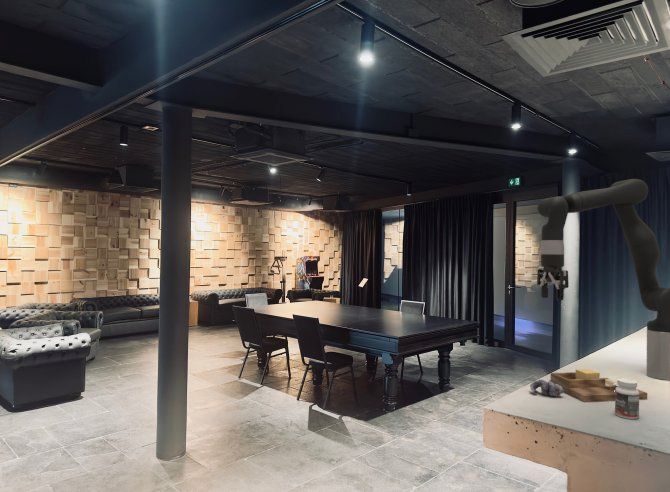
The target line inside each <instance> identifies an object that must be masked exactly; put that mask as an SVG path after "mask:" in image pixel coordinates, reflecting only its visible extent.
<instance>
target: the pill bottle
mask: <svg viewBox="0 0 670 492" xmlns="http://www.w3.org/2000/svg"><path fill="white" fill-rule="evenodd" d="M617 384H618V385H619V386H618V387H616V389H615V401H614V412H615V413H614V414H615V415H616V416H618V417H621V418H622V419H626V420H627V419H628V420H637V419H639V417H640V400H639V391H638V390H639V389H638V388H637V387H638V382H637V381H636V380H633V379H629V378H623V377H622V378H618V379H617ZM637 389H638V390H637Z"/></svg>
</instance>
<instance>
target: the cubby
mask: <svg viewBox="0 0 670 492" xmlns="http://www.w3.org/2000/svg"><path fill="white" fill-rule="evenodd" d="M604 378H605V377H600V378H598V379H576V371H574V372H570V371H569V372H568V371H567V372H550V380H551V381H553V382H555V383H557V384H560V385H562V386H564V387H566V388H589V387H605V379H604Z"/></svg>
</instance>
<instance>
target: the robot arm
mask: <svg viewBox="0 0 670 492" xmlns="http://www.w3.org/2000/svg"><path fill="white" fill-rule="evenodd" d="M648 195H649V186H648V185H647V183H646V182H645V181H644V180H642V179H640V178H629V179H625V180H619V181H616V182H614V183H612V184H611V185H610V186H609V187H605V188H598V189H589V190H584V191H577V192H572V193H569V194H566V195H561V196H558V195H557V196H553V197H546V198H543V199H542V200H540V202H538V205H537V212H538V213H539V215H540V216H542V217H544V218H548V220H547V223H545V224H544V225H542V228H541V244H540V266H541V267H543V268H537V275H536V277H537V278H536V285H537V286H540V288H541V289H540V292H541V293H540V296H541V298H543V299H544V298H545V299H546V298H547V299H548V297H549V285H550V284H551V283H552V284H554V285H555V288H556V289H555V290H556V292H555V295H556V296H555V297H556V301H564V297H565V295H564V294H565V293H564V292H565V289H567V288H569V271H568V270H563V269H562V267H565V244H564V243H565V242H564V229H565V224H566V222H567V218H568V214H572V213H573V214H575V213H580V212H584V211H590V210H594V209H598V208H602V207H606V206H611V205H612V206H613V208H614V211H615V213H616V215H617V218H618V220H619V223H620V226H621V229H622V232H623V235H624V238H625V241H626V245H627V249H628V252H629V255H630V257H631V259H632V264H633V267H634V270H635V271H634V272H635V274H636V277H637V284H638V288H639V293H640V299H641V303H642V305H643V306H644V307H645V308H646V309H647V310H649V311H652V312H656V314H657V315H656V317H655V319H653V320H649V321H647V323H646V376H648V377H650V378H653V379H658V380H665V381H670V287H662V286H661V287H660V285H659V283H658V279H657V275H656V271H657V266H658V263H659V260H660V256H661V250H660V248H659V244H658V240H657V236H656V234H655V233H654V232H653V231H652V229H651V228H650V227H649V226H648V225H647V223H645V222H644V221H643V220H642V219H641V217H640V216H639V215H638V213H637V210H636V208H635V205H637V204H640V203H641V202H644V201H645V200H646V199H647V197H648Z"/></svg>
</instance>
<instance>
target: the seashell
mask: <svg viewBox="0 0 670 492" xmlns="http://www.w3.org/2000/svg"><path fill="white" fill-rule="evenodd" d="M529 387H530V391H531V392H532V393H533V394H534V395H537V394H539V393H538V392H539V391H538V390H537V389H538V388H540V391H541V393H542V394H543V395H544V396H550V397H556V396H561V394H563V393H564V389H563V388H562V386H559V385H558V384H554V383H553V382H550V381H546V380H544V379H537V380H535V381H533V382H531V383H530V385H529Z"/></svg>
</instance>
